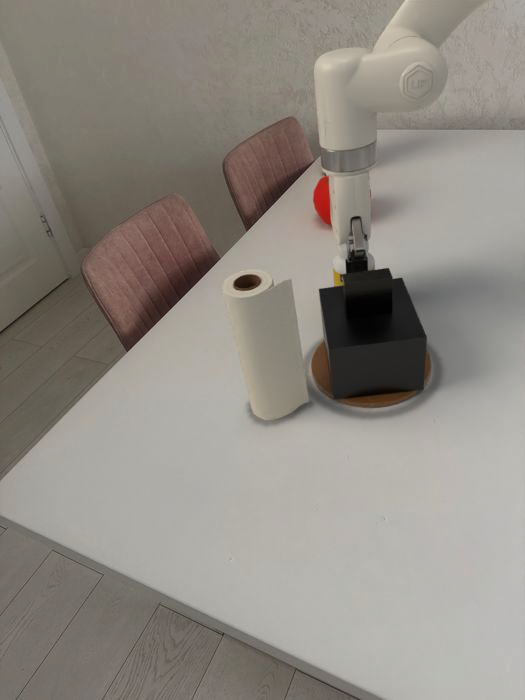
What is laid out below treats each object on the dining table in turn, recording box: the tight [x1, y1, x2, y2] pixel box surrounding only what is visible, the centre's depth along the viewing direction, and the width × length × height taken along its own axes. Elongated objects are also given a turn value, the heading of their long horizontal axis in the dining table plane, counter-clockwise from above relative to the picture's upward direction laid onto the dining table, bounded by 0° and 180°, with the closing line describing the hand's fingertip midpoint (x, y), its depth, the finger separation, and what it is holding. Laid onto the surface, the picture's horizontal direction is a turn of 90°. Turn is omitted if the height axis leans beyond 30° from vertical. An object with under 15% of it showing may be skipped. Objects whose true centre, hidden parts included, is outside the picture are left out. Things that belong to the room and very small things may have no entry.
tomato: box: [312, 176, 372, 226], centre depth 108 cm, size 13×12×11 cm
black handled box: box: [310, 267, 432, 409], centre depth 68 cm, size 17×17×15 cm
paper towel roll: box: [221, 268, 310, 421], centre depth 63 cm, size 7×6×21 cm
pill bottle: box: [332, 236, 376, 287], centre depth 79 cm, size 6×6×12 cm
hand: (354, 268), depth 78 cm, fingers closed on pill bottle, 6 cm apart
